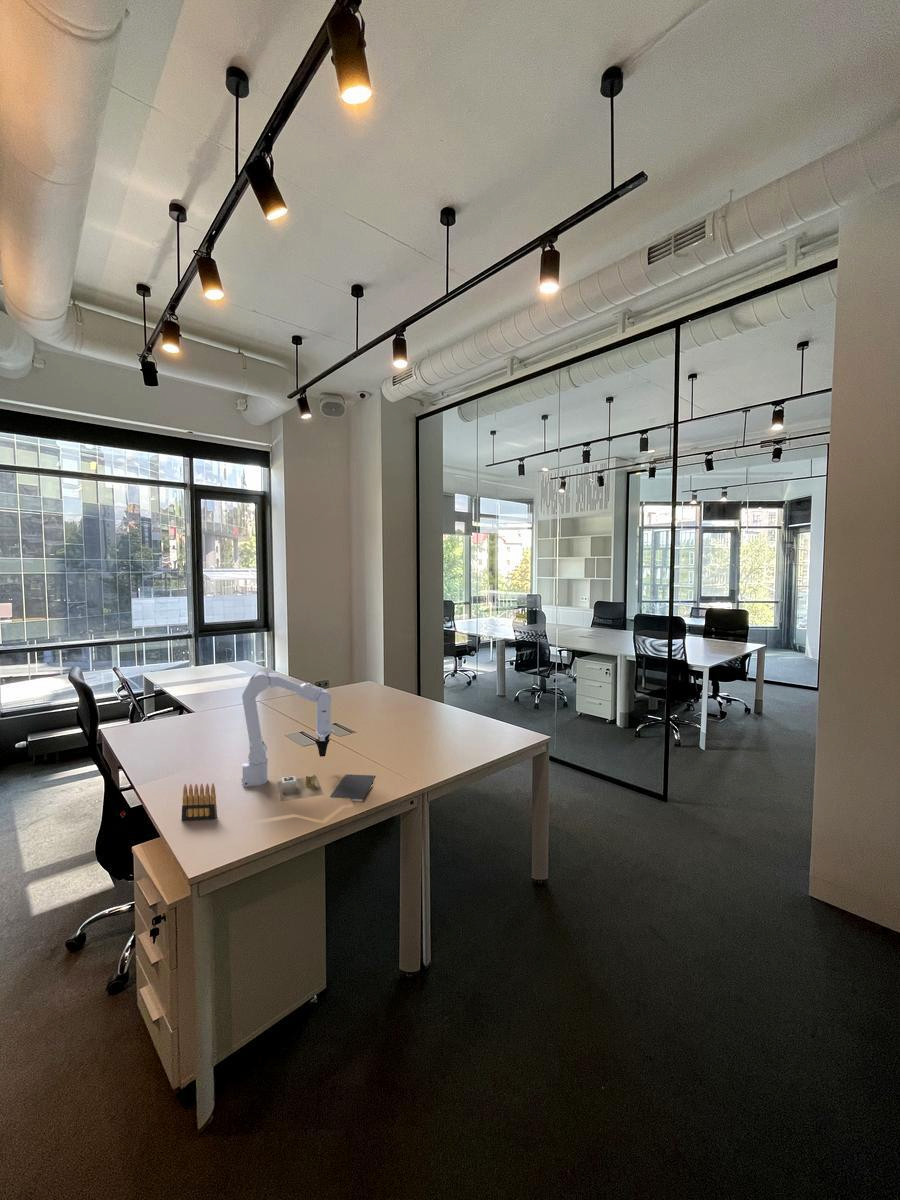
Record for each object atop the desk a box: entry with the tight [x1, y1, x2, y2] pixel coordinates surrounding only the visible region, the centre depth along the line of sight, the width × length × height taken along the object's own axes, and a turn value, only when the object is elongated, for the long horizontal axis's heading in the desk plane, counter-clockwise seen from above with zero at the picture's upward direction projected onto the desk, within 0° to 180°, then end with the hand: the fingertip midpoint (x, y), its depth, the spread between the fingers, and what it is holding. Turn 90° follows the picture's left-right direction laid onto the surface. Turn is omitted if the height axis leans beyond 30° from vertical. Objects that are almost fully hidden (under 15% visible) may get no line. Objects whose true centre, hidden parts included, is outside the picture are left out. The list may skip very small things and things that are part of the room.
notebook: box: [329, 774, 377, 802], centre depth 187 cm, size 13×2×21 cm
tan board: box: [277, 775, 324, 802], centre depth 185 cm, size 15×18×1 cm
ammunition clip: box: [180, 782, 218, 822], centre depth 162 cm, size 11×2×12 cm, turn 97°
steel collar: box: [280, 775, 297, 793], centre depth 183 cm, size 5×5×4 cm
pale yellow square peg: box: [305, 773, 316, 788], centre depth 186 cm, size 2×2×4 cm
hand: (323, 752), depth 198 cm, fingers open, 7 cm apart
